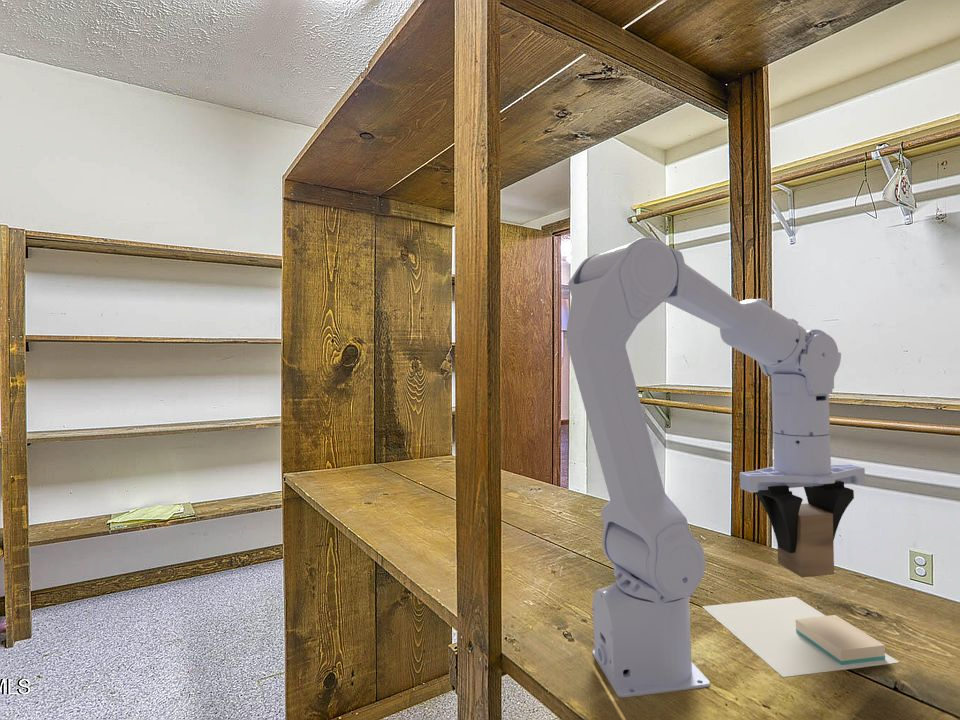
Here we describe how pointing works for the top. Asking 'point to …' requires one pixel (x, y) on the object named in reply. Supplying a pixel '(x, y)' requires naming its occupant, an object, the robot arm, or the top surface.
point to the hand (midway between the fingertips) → (804, 548)
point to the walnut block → (811, 544)
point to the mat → (780, 635)
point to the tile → (840, 639)
